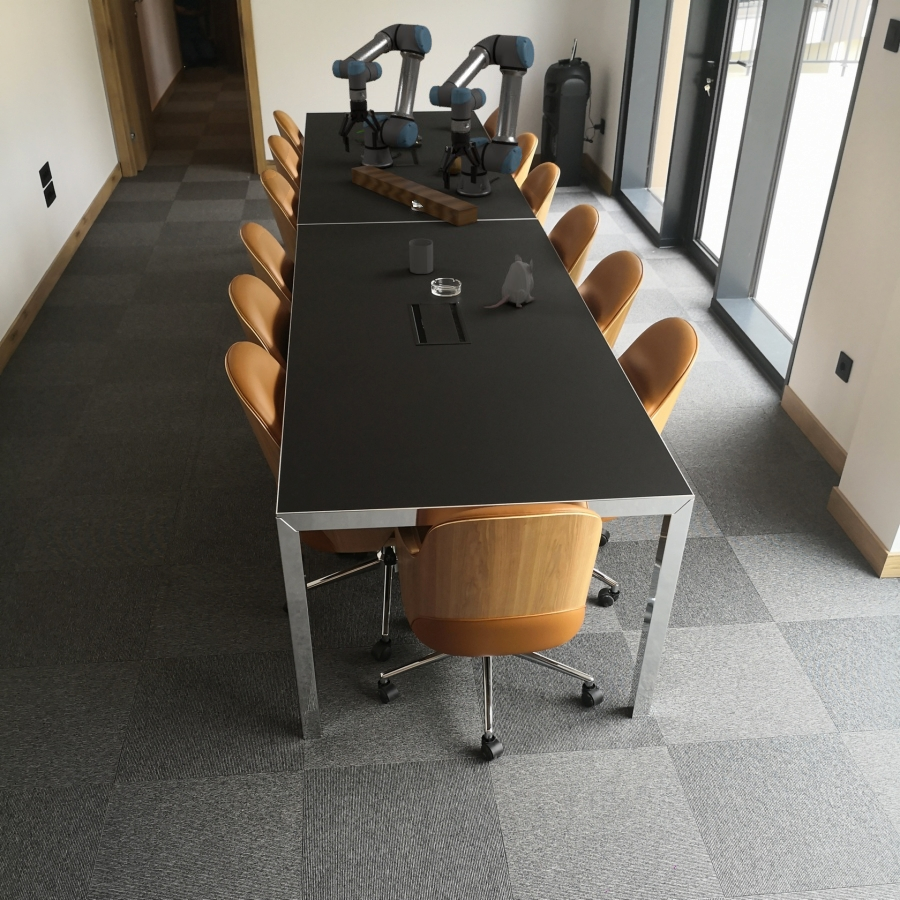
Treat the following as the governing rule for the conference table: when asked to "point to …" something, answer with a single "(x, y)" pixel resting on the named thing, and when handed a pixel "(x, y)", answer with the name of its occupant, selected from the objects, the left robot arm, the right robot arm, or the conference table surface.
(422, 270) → the cup
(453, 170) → the potato
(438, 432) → the conference table surface
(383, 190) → the wide beam
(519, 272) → the toy
